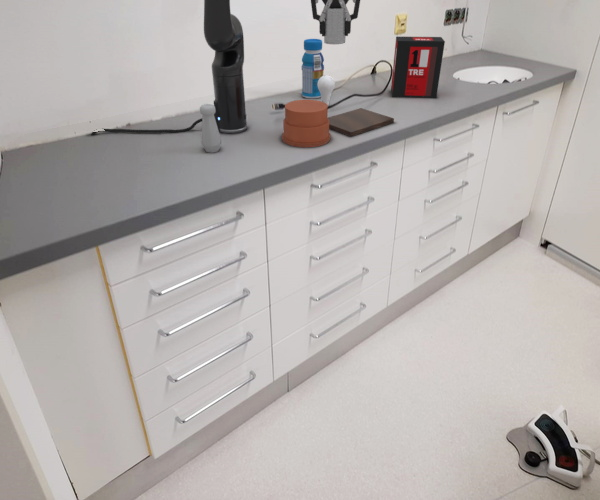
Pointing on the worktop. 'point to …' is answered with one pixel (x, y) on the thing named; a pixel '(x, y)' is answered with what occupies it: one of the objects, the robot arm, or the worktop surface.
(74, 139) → the worktop surface
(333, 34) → the steel cup
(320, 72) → the beverage bottle
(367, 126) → the board
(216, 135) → the salt shaker
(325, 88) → the lightbulb
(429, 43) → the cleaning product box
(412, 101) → the worktop surface
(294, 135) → the terracotta flower pot
